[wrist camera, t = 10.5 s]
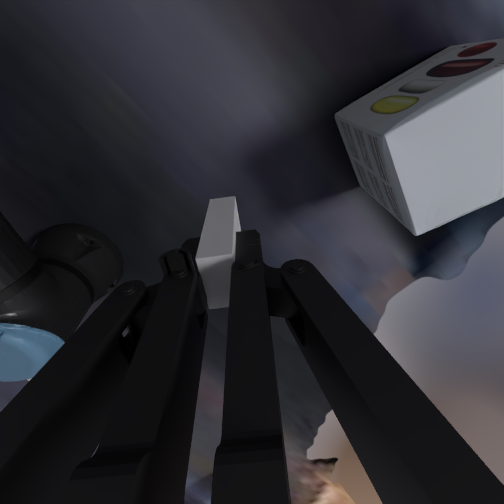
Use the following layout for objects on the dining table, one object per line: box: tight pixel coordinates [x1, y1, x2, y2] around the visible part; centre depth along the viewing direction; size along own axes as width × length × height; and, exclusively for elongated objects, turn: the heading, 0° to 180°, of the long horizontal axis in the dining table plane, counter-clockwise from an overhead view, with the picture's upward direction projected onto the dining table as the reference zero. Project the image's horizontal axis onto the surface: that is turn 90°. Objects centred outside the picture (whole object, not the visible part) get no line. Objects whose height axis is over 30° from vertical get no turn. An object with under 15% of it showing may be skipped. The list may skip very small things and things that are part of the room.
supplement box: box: [335, 39, 504, 236], centre depth 36 cm, size 17×13×18 cm
